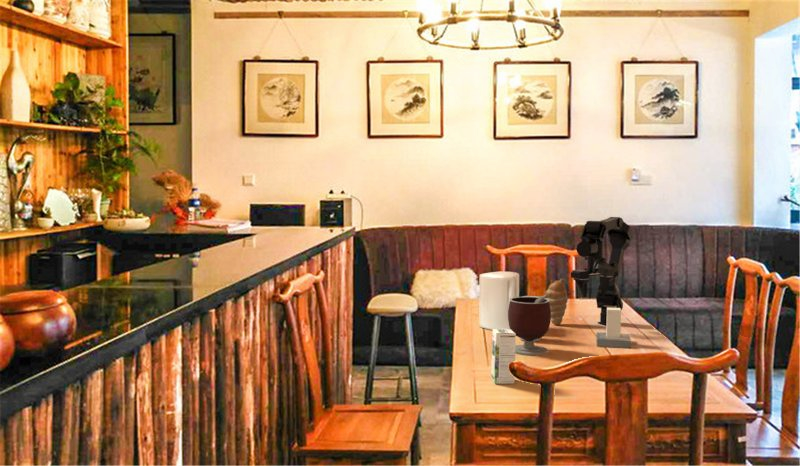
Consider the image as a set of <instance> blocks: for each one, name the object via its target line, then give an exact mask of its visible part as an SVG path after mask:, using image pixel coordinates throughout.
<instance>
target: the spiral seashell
mask: <svg viewBox="0 0 800 466" xmlns="http://www.w3.org/2000/svg"><path fill="white" fill-rule="evenodd" d="M544 295H548V297H546V299H548V300H549V304H550V310H551V321H550V323H551V324H552V325H556V326H559V325H561V324H562V322H563V318H564V316H565V313H566V310H567V307H568V306H567V304H568V300H569V299H568V291H567V288H566V285H565V283H564V279H563V278H560V279H559V280H554V279H550V284H549V286H548V287H547V290H546V291H545V293H544Z"/></svg>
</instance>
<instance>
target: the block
mask: <svg viewBox="0 0 800 466" xmlns="http://www.w3.org/2000/svg"><path fill="white" fill-rule="evenodd" d="M605 326H606V327H605V333H606V336H607V337H613V338H620V334H621V328H622V327H621V326H622V310H621V308H608V307H607V325H605Z"/></svg>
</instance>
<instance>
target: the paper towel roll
mask: <svg viewBox="0 0 800 466" xmlns="http://www.w3.org/2000/svg"><path fill="white" fill-rule="evenodd" d="M478 285H479V286H478V287H479V289H478V291H479V296H478V297H479V298H478V299H479V301H478V302H479V303H478V308H479V309H478V310H479V311H478V314H479V315H478V325H479V328H482V329H484V330H490V331H493V329H510V327H509V321H508V309H509V303H510V299H511V298H514V297H520V273H518V272H515V271H491V272H485V273H480V274H479V283H478Z"/></svg>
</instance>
